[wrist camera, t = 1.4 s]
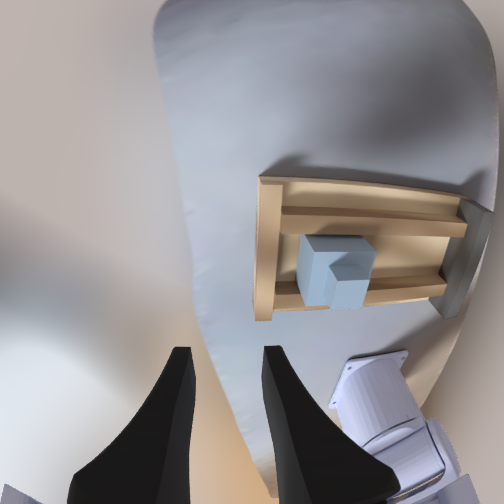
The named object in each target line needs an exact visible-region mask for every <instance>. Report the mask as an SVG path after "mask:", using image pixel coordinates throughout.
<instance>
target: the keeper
mask: <svg viewBox="0 0 504 504" xmlns="http://www.w3.org/2000/svg"><path fill="white" fill-rule="evenodd" d="M376 253H377V251H376V250H375V249H374V248H373V247H372V246H371V245H370V244H369V242H368V241H367V240H366V239H365V238H364V237H363V236H362V235H336V234H301V235H300V244H299V252H298V261H297V269H296V276H295V279H296V282H297V284H298V287H299V290H300V293H301V295H302V298H303V301H304V304H305V306H321V305H328V306H329V308H330V310H343V309H355V308H362V305H363V302H364V299H365V295H366V292H367V288H368V285H369V281H370V276H371V272H372V268H373V264H374V261H375V257H376Z"/></svg>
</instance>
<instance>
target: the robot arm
mask: <svg viewBox="0 0 504 504" xmlns="http://www.w3.org/2000/svg"><path fill="white" fill-rule="evenodd" d="M407 356H408V351H407V350H404V351H399V352H394V353H389V354H383V355H378V356H372V357H365V358H359V359H352V360H349V361H347V363H346V365H345V367H344V370H343V372H342V375H341V377H340V380H339V382H338V384H337V387H336V389H335V391H334V394H333V396H332V398H331V400H330V403H329V405H328V407H329V408H330V409H333V408H336V409H337V412H338V416H339V419H340V422H341V425H342V429H343V431H342V430H341V429H340V428H339V427H338V426H337V425H336V424H335V423H334V422H333V421H332V420H331V419H330V418H329V417H328V416H327V415H326V414H325V413H324V411H323V410H322V409H321V408H320V407H319V405H318V404H317V403H316V402H315V400H314V399H313V398H312V396H311V395H310V394H309V392H308V391H307V390H306V388H305V387H304V385H303V384H302V382H301V381H300V379H299V378H298V376H297V374H296V373H295V371H294V369H293V368H292V366H291V364H290V362H289V360H288V359H287V357H286V355H285V353H284V351H283V348H282V347H281V346H280V345H277V346H264V355H263V366H262V376H261V378H262V389H263V399H264V404H265V409H266V414H267V418H268V423H269V427H270V432H271V437H272V441H273V446H274V452H275V462H276V471H277V481H278V492H279V504H480V502H479V499H478V497H477V494H476V491H475V489H474V487H473V484H472V481H471V479H470V476H469V474H465V475H464V476H462V477H460V472H461V468H460V465H459V463H458V461H457V456H456V454H455V451H454V448H453V446H452V444H451V442H450V440H449V438H448V436H447V434H446V432H445V430H444V428H443V426H442V424H441V423H440V421H439V420H438V419H433V418H430V419H429V420H427V421H426V420H425V419H424V417H423V415H422V413H421V411H420V409H419V407H418V405H417V403H416V401H415V399H414V397H413V395H412V393H411V391H410V389H409V387H408V385H407V383H406V381H405V379H404V377H403V375H402V373H401V371H400V368H401V367H402V365H403V363H404V361H405V359H406V358H407ZM195 393H196V376H195V371H194V365H193V359H192V353H191V347H174V348H173V350H172V353H171V355H170V357H169V359H168V361H167V364H166V366H165V367H164V369H163V371H162V373H161V375H160V377H159V379H158V380H157V382H156V384H155V386H154V387H153V389H152V391H151V392H150V394H149V395H148V397H147V398H146V400H145V402H144V403H143V405H142V406H141V408H140V409H139V410H138V412H137V413H136V415H135V416H134V417H133V418H132V420H131V421H130V423H129V424H128V425H127V426H126V427H125V428H124V429H123V431H122V432H121V433H120V434H119V435H118V436H117V437H116V438H115V439H114V441H113V442H112V443H111V444H110V445H109V446H107V447H106V448H105V449H104V450H103V451H102V452H101V453H100V454H99V455H98V456H97V457H96V458H95V459H94V460H92V461H91V462H90V463H88V464H87V465H86V466H85V467H83V468H82V469H80V470H79V471H78V472H76V473H75V474H74V476H73V479H72V481H71V484H70V488H69V493H68V499H67V504H190V484H189V448H190V438H191V430H192V421H193V414H194V407H195V395H196V394H195ZM442 472H443V474H441V475H440V476H439V477H438V478H436V479H434V480H432V481H431V482H429V483H427V484H425V485H423V486H421V487H419V488H417V489H415V490H413V491H411V492H409V493H407V494H405V495H402V496H400V497H397V498H393V497H395V496H398V495H400V494H402V493H404V492H406V491H409V490H411V489H413V488H415V487H417V486H419V485H421V484H422V483H424V482H426V481H428V480H430V479H432V478H434V477H435V476H437V475H439V474H440V473H442ZM0 504H42V503H40V502H38V501H36V500H35V499H33V498H32V497H29V496H28V495H26V494H24V493H22V492H20V491H18V490H16V489H15V488H13V487H11V486H9V485H7V484H5V485H4V489H3V493H2V497H1V503H0Z"/></svg>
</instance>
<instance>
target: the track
mask: <svg viewBox="0 0 504 504" xmlns="http://www.w3.org/2000/svg"><path fill="white" fill-rule="evenodd" d="M493 217H494V212H492V211H490V210H489V209H487V208H485V207H483V206H482V205H480V204H478V203H476V202H475V201H473V200H471V199H469V198H468V197H466V196H464V195H460V194H454V193H448V192H442V191H435V190H428V189H421V188H414V187H406V186H397V185H389V184H379V183H369V182H359V181H347V180H333V179H318V178H299V177H271V176H258V193H257V217H256V242H255V265H254V289H253V308H254V315H255V321H272V312H284V311H306V310H323V309H330V308H329V306H328V305H321V306H305V304H304V301H303V298H302V295H301V293H300V290H299V287H298V284H297V282H296V279H295V276H296V269H297V261H298V252H299V244H300V235H301V234H336V235H362V236H363V237H364V238H365V239H366V240H367V241H368V242H369V244H370V245H371V246H372V247H373V248H374V249H375V250H376V251H377V253H376V257H375V261H374V264H373V268H372V272H371V276H370V281H369V285H368V288H367V292H366V295H365V299H364V302H363V305H362V307H363V306H374V305H385V304H395V303H404V302H413V301H421V300H429V301H430V302H431V304H432V305H433V306H434V307H435V309H436V310H437V311H438V312H439V313H440V315H441V316H442V317H443V318H444V319H448V318H453V317H456V315H457V313H458V311H459V309H460V307H461V305H462V303H463V300H464V298H465V296H466V294H467V291H468V289H469V287H470V284H471V282H472V279H473V277H474V274H475V272H476V269H477V267H478V264H479V261H480V258H481V256H482V253H483V250H484V247H485V244H486V241H487V238H488V234H489V231H490V228H491V224H492V221H493Z"/></svg>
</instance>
